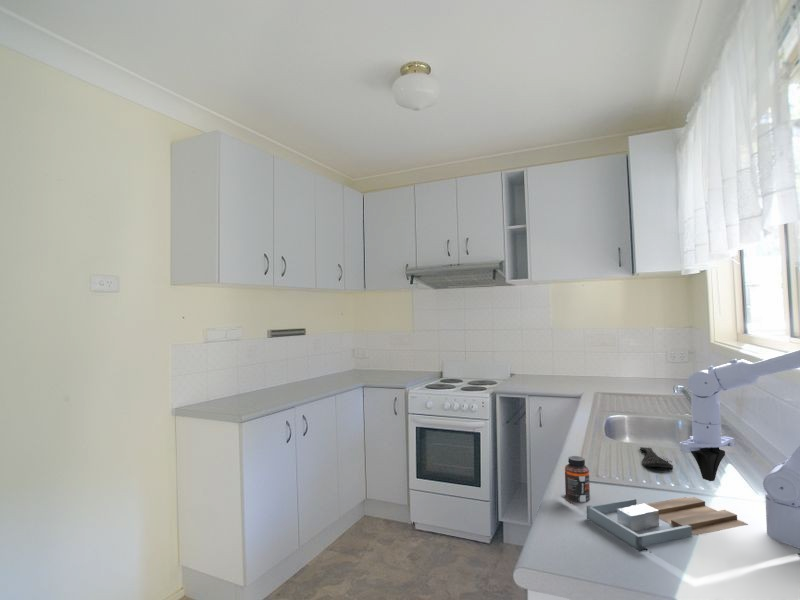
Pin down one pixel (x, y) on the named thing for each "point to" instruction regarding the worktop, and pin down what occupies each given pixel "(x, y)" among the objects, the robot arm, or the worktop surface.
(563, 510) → the worktop surface
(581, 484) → the supplement bottle
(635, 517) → the chip
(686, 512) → the slot board
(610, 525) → the tray
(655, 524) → the chip
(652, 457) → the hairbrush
